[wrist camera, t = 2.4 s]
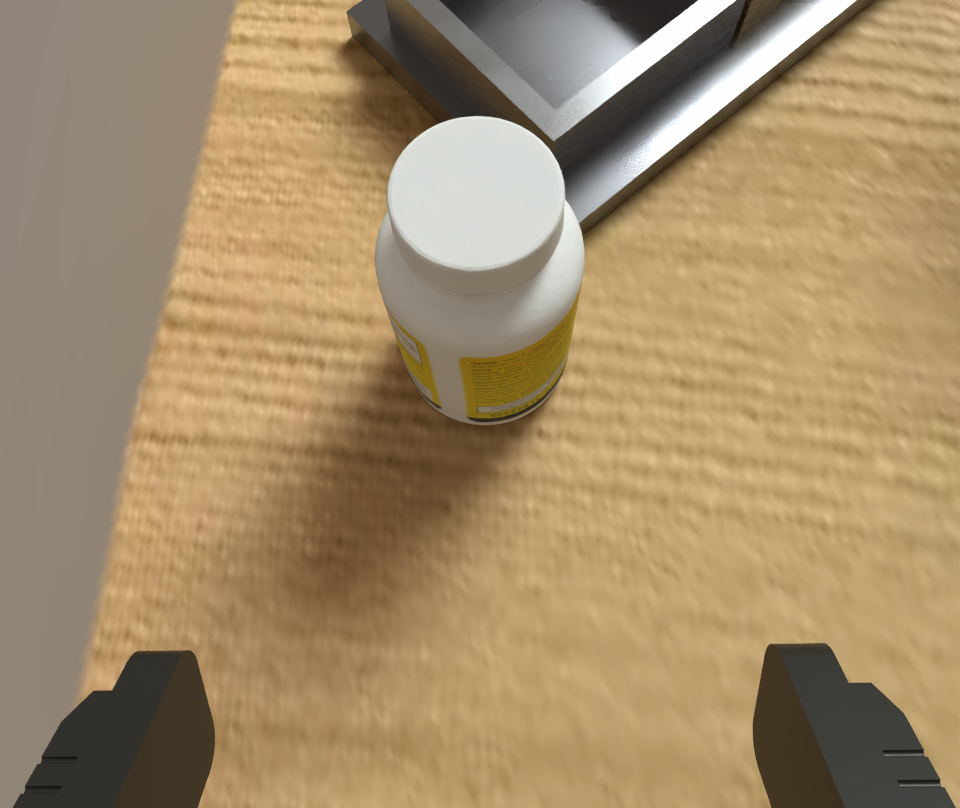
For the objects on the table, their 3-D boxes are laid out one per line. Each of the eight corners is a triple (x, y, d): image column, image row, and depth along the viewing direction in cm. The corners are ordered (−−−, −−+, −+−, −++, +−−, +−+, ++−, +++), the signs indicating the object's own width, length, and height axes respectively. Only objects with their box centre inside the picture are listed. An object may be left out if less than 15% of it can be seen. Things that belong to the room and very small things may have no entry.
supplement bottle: (592, 311, 28) (636, 136, 18) (528, 454, 26) (541, 344, 17) (446, 253, 29) (417, 57, 19) (377, 390, 27) (309, 251, 18)
